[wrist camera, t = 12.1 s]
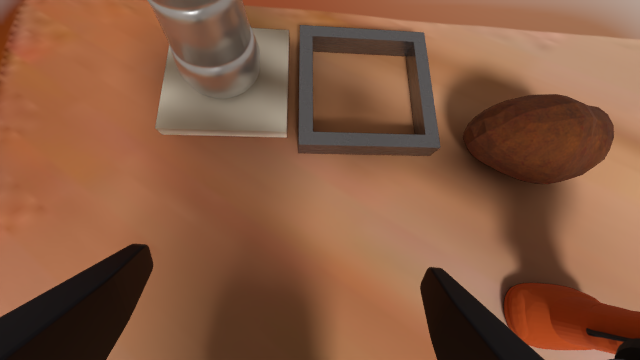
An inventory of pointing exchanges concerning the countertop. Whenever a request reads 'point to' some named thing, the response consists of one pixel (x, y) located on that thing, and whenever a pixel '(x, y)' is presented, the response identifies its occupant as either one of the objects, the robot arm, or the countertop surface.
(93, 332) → the robot arm
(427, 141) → the collar
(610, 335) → the toy drill
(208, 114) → the board
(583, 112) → the potato
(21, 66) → the countertop surface
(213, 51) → the plastic bottle
